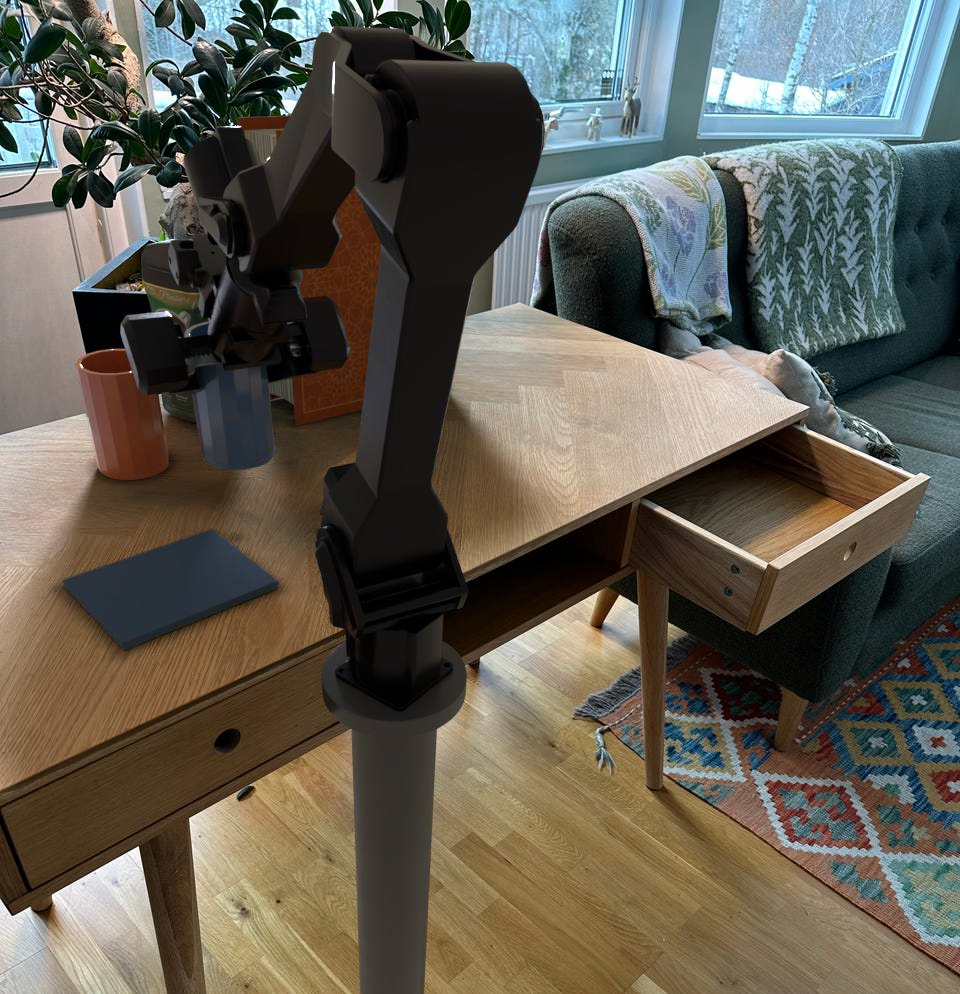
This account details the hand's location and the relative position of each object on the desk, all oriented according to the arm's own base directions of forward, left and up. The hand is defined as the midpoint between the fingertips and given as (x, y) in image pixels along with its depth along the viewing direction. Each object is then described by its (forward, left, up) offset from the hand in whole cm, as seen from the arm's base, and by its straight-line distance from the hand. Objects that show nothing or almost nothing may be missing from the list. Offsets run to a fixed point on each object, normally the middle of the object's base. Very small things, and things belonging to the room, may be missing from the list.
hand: (226, 384), depth 84 cm
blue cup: (-1, +1, -7) cm, 7 cm away
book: (+7, -26, -11) cm, 29 cm away
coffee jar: (+16, -10, -11) cm, 21 cm away
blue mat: (-10, +16, -10) cm, 22 cm away
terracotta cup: (+11, +4, -10) cm, 16 cm away
